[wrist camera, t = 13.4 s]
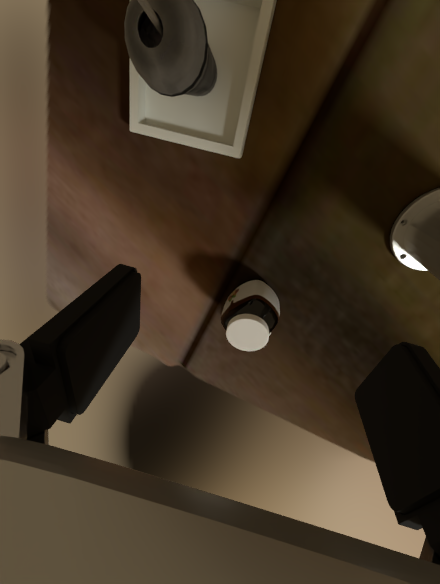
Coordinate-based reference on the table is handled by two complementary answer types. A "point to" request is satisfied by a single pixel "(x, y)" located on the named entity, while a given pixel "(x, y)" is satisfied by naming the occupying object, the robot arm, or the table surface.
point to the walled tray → (228, 88)
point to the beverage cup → (170, 46)
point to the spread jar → (250, 315)
